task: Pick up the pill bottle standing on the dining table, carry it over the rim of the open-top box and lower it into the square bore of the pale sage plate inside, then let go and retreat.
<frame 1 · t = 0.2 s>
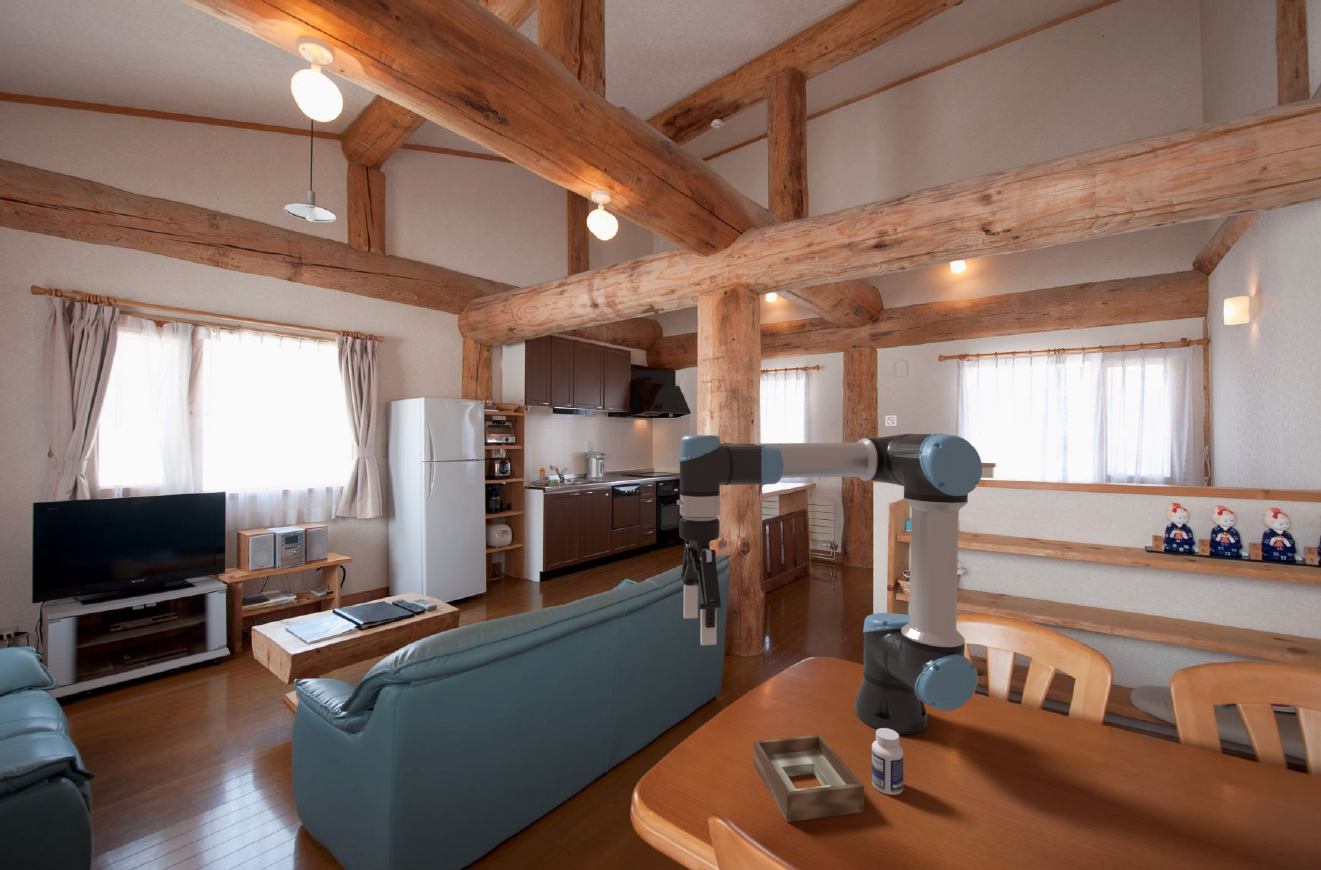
hand: (698, 630, 102), 28 cm above the table, fingers open, 13 cm apart
pill bottle: (887, 787, 100), on the table
box: (804, 786, 100), on the table
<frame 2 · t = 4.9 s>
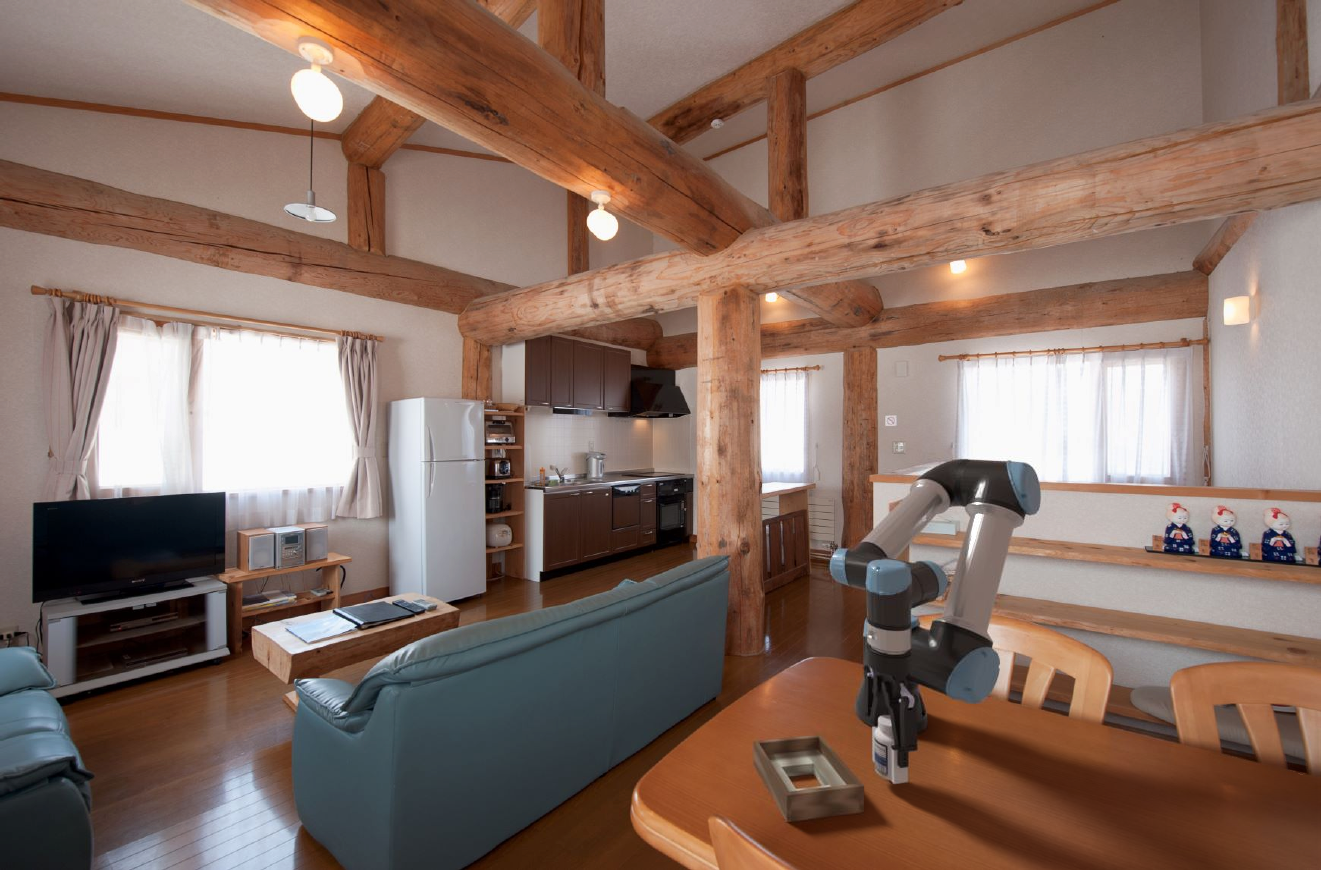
hand: (889, 770, 101), 3 cm above the table, fingers closed on pill bottle, 5 cm apart
pill bottle: (890, 773, 101), point 2 cm above the table, touching gripper
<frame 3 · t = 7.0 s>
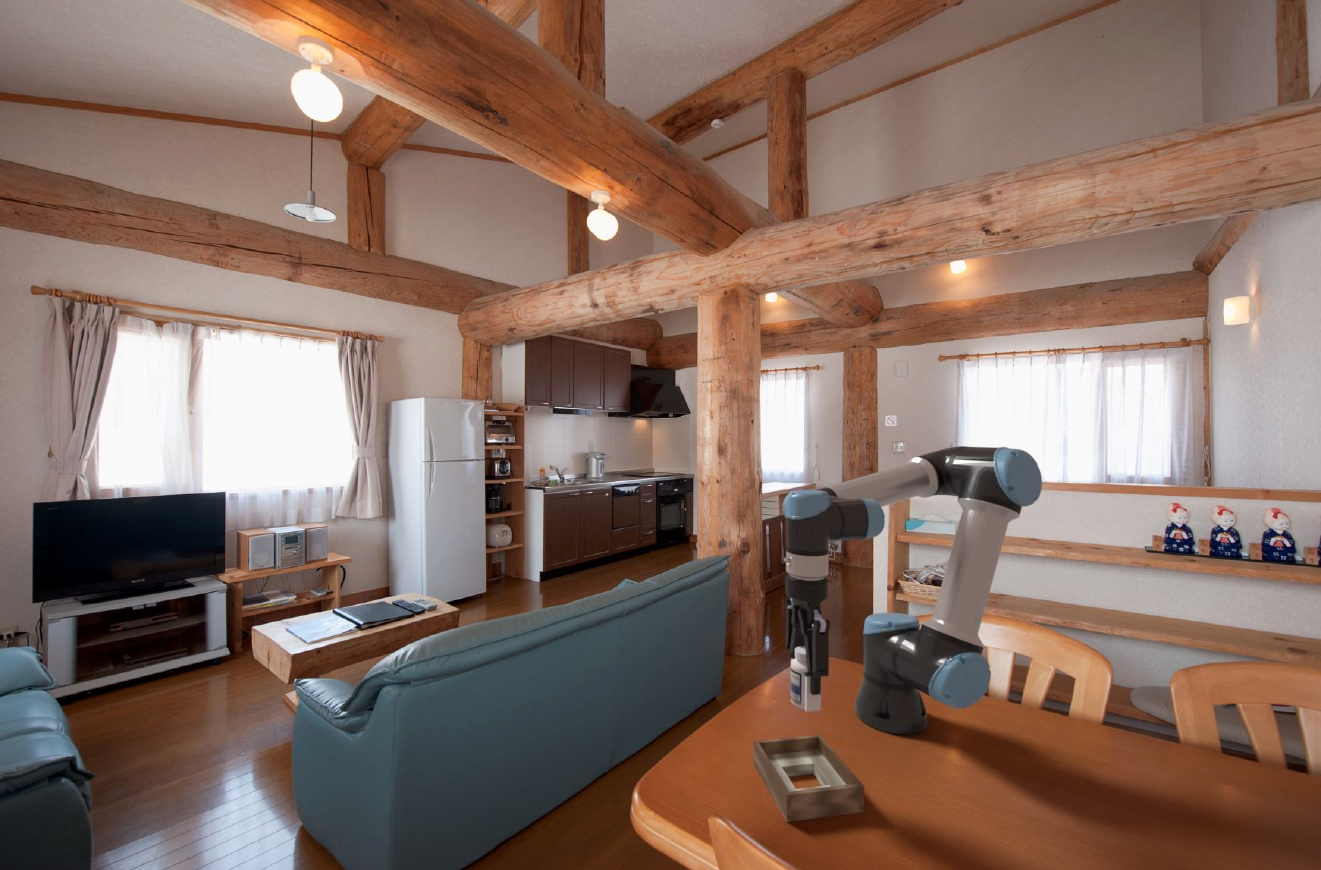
hand: (805, 701, 100), 16 cm above the table, fingers closed on pill bottle, 5 cm apart
pill bottle: (805, 704, 100), point 15 cm above the table, touching gripper
when the fingers open (3 cm above the table, at t = 9.1 s): pill bottle drops 3 cm, resting in box.
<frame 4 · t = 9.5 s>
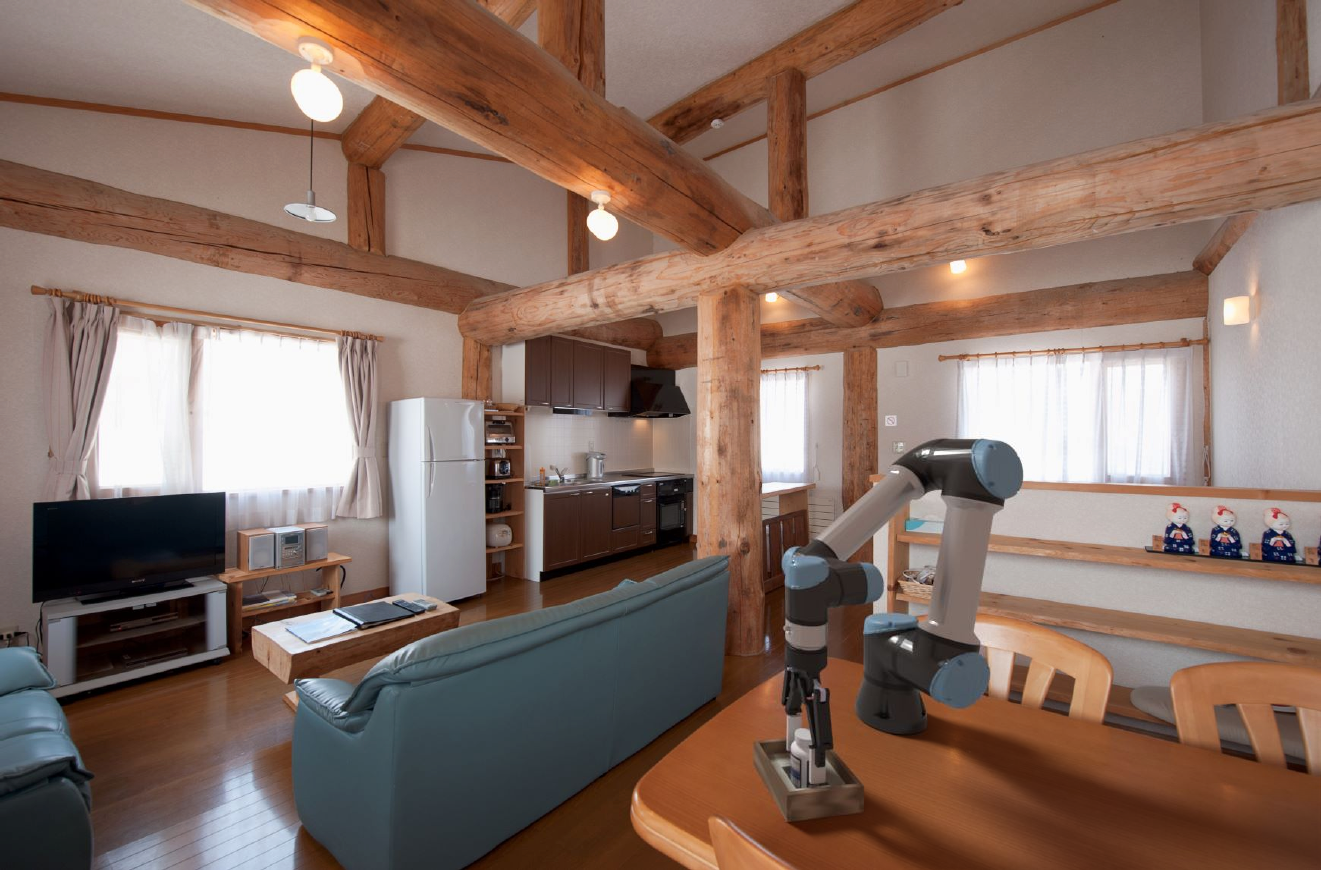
hand: (805, 764, 100), 4 cm above the table, fingers open, 9 cm apart
pill bottle: (805, 787, 100), resting in box
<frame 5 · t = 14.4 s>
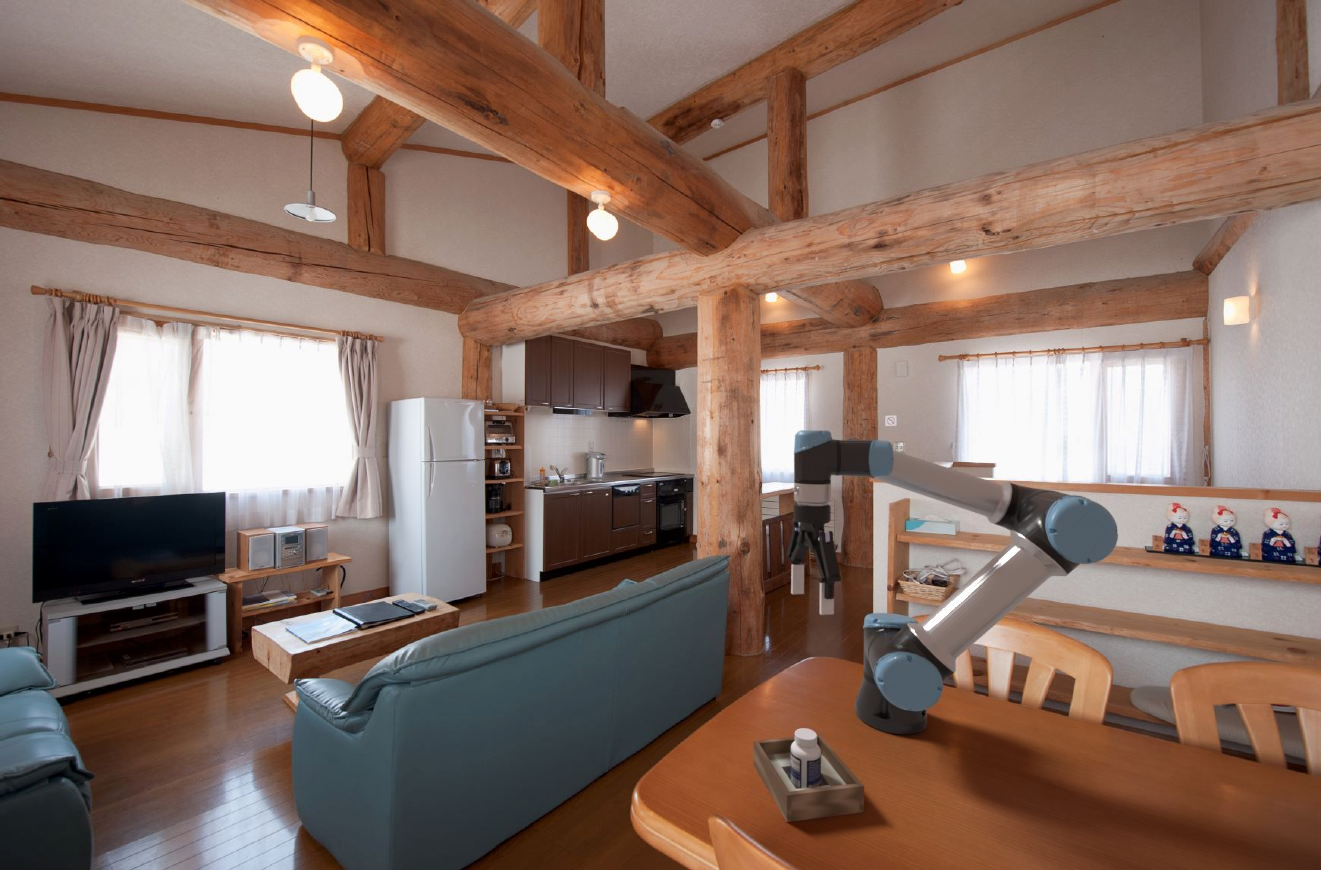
hand: (811, 603, 115), 29 cm above the table, fingers open, 13 cm apart
nothing on the table moved.
at the end: pill bottle 0.1 cm from the box (horizontally); pill bottle resting in box; pill bottle tilted 0° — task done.
